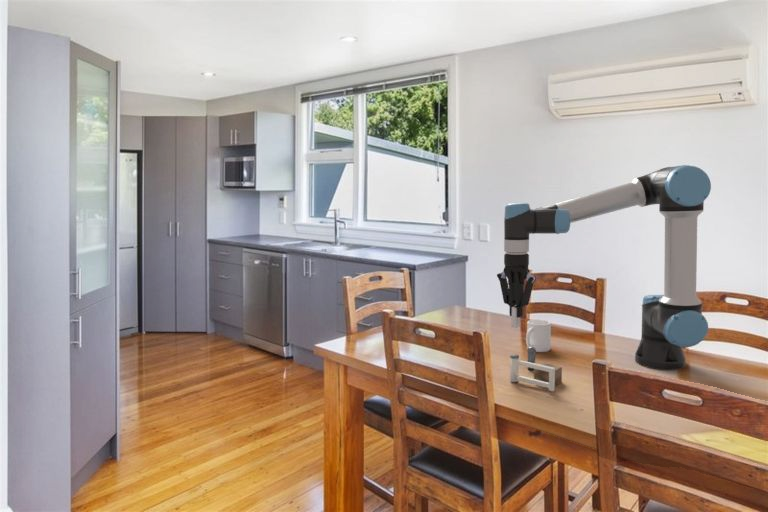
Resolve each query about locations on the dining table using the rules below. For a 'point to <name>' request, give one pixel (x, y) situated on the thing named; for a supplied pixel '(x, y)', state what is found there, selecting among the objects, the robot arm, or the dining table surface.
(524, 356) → the dining table surface
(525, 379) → the gate
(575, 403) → the dining table surface
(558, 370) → the block
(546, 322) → the mug
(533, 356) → the latch post
